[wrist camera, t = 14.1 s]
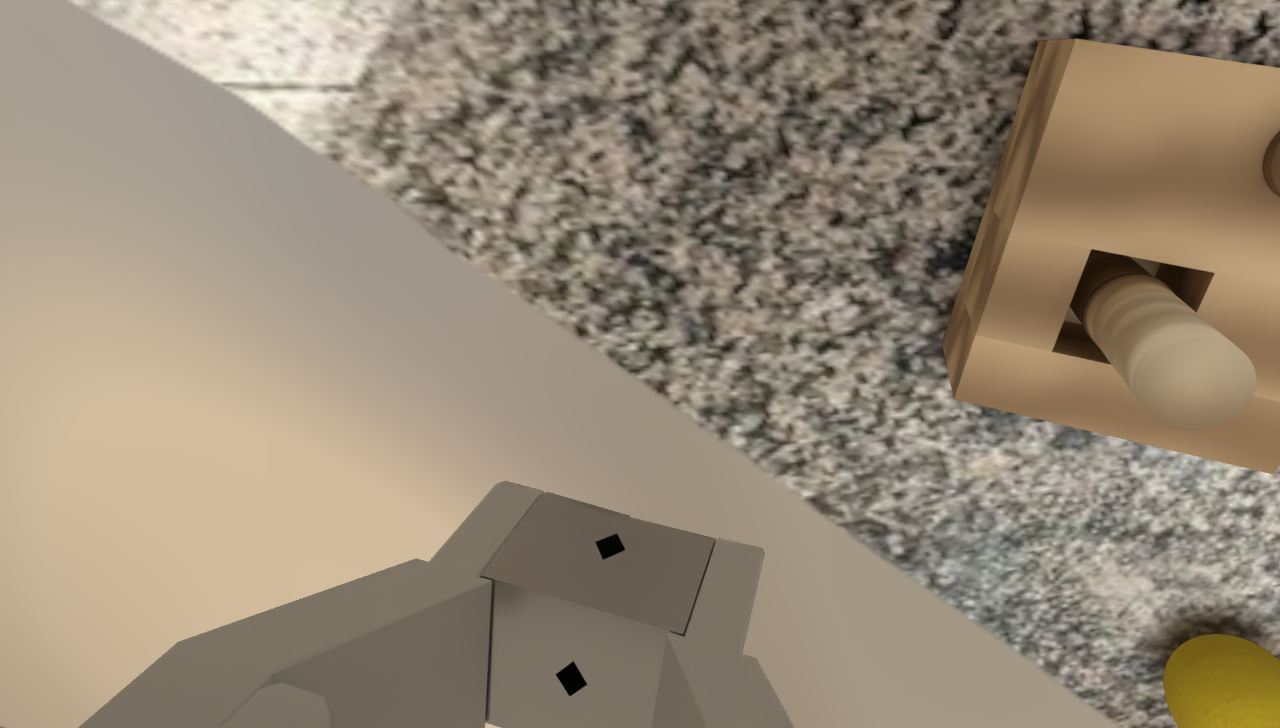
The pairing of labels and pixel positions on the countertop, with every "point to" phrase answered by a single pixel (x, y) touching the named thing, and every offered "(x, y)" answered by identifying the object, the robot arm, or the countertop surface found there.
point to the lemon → (1223, 684)
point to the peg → (1161, 345)
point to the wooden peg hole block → (1127, 237)
